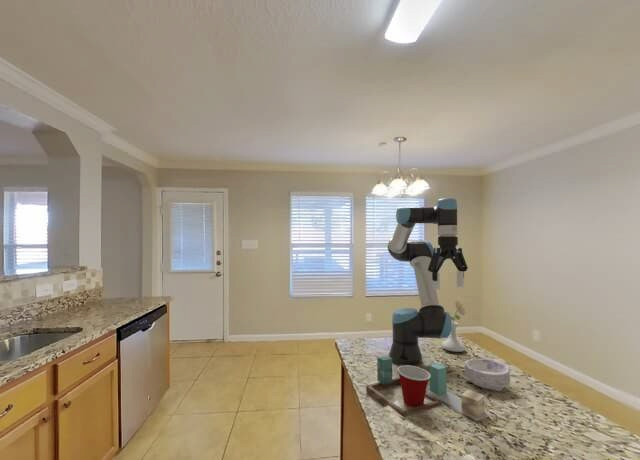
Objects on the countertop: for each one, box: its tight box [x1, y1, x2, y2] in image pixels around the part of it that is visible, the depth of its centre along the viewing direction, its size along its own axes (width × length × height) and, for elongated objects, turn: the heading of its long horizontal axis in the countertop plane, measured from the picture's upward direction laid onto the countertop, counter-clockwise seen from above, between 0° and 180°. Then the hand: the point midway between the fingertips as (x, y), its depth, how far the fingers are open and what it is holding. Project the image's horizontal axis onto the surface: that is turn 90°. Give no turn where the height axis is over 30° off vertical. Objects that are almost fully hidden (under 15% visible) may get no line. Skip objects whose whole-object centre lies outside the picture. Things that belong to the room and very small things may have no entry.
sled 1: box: [365, 354, 443, 421], centre depth 106 cm, size 22×16×11 cm
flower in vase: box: [441, 300, 466, 353], centre depth 154 cm, size 13×11×25 cm
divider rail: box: [431, 394, 479, 425], centre depth 98 cm, size 22×1×2 cm, turn 26°
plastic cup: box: [397, 365, 431, 408], centre depth 100 cm, size 11×11×12 cm
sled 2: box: [426, 362, 492, 422], centre depth 100 cm, size 20×7×10 cm, turn 26°
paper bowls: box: [464, 358, 511, 392], centre depth 115 cm, size 15×15×8 cm
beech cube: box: [460, 389, 486, 417], centre depth 95 cm, size 5×5×5 cm
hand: (448, 288), depth 122 cm, fingers open, 13 cm apart
